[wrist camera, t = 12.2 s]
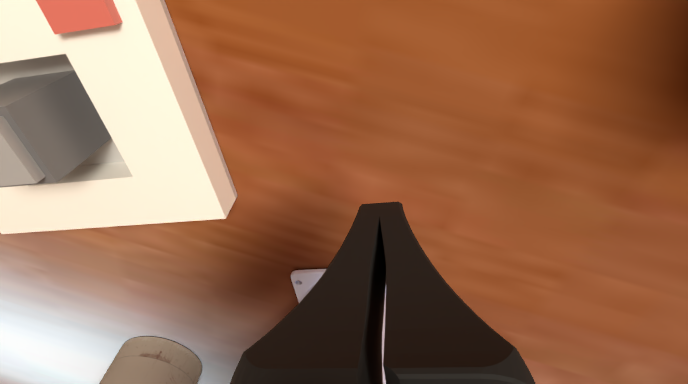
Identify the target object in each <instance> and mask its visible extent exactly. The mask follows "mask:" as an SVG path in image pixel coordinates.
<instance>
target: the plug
mask: <svg viewBox="0 0 688 384" xmlns="http://www.w3.org/2000/svg"><path fill="white" fill-rule="evenodd" d="M111 138H112V137H111V136H110V134H109V132H108V130H107V128H106V127H105V125H104V123H103V121H102V119H101V117H100V116H99V114H98V112H97V110H96V108H95V106H94V105H93V103H92V101H91V99H90V97H89V95H88V94H87V92H86V90H85V88H84V86H83V85H82V83H81V81H80V79H79V77H78V75H77V74H76V72H75V70H71V71H64V72H57V73H50V74H42V75H35V76H28V77H20V78H14V79H12V80H10V81H7V82H5V83H3V84H0V188H1V187H12V186H24V185H35V184H46V183H57V182H59V181H60V180H61V179H62V178H63V177H65V176H66V175H67V174H68V173H70V172H71V171H72V170H73V169H74V168H76V167H77V166H78V165H79V164H81V163H82V162H83V161H84V160H85V159H87V158H88V157H89V156H90V155H91V154H93V153H94V152H95V151H96V150H98V149H99V148H100V147H101V146H102V145H104V144H105V143H106V142H107V141H109V140H110V139H111Z"/></svg>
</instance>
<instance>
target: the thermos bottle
mask: <svg viewBox="0 0 688 384" xmlns="http://www.w3.org/2000/svg"><path fill="white" fill-rule="evenodd" d="M201 371H202V365H201V362H200V360H199V359H198V357H197V356H196V355H195V354H194V353H193V352H191V351H190V350H189V349H187V348H186V347H184V346H182V345H180V344H178V343H176V342H173V341H170V340H167V339H163V338H159V337H151V336H142V337H135V338H132V339H130V340H128V341H126V342H125V343H124V344H123V346H122V347H121V349H120V350H119V352H118V354H117V355H116V357H115V359H114V360H113V362H112V364H111V365H110V367H109V369H108V370H107V372H106V374H105V375H104V377H103V379H102V380H101V382H100V384H197V382H198V379H199V376H200V374H201Z"/></svg>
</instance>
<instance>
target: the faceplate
mask: <svg viewBox="0 0 688 384" xmlns="http://www.w3.org/2000/svg"><path fill="white" fill-rule="evenodd" d="M71 70H75V72H76V74H77V75H78V77H79V79H80V81H81V83H82V85H83V86H84V88H85V90H86V92H87V94H88V95H89V97H90V99H91V101H92V103H93V105H94V106H95V108H96V110H97V112H98V114H99V116H100V117H101V119H102V121H103V123H104V125H105V127H106V128H107V130H108V132H109V134H110V136H111V137H112V138H111V139H110V140H109V141H107V142H106V143H105V144H104V145H102V146H101V147H100V148H99V149H98V150H96V151H95V152H94V153H93V154H91V155H90V156H89V157H88V158H87V159H85V160H84V161H83V162H82V163H81V164H79V165H78V166H77V167H76V168H74V169H73V170H72V171H71V172H70V173H68V174H67V175H66V176H65V177H63V178H62V179H61V180H60V181H59V182H57V183H46V184H35V185H24V186H12V187H1V188H0V232H1V234H10V233H25V232H39V231H54V230H68V229H83V228H97V227H111V226H126V225H140V224H155V223H169V222H184V221H198V220H212V219H226V217H227V215H228V213H229V211H230V209H231V208H232V206H233V204H234V202H235V200H236V198H237V196H238V195H237V192H236V190H235V187H234V184H233V182H232V179H231V176H230V174H229V171H228V168H227V166H226V163H225V161H224V158H223V155H222V153H221V150H220V147H219V145H218V142H217V139H216V137H215V134H214V131H213V129H212V126H211V123H210V121H209V118H208V115H207V113H206V110H205V107H204V105H203V102H202V99H201V97H200V94H199V91H198V89H197V86H196V83H195V81H194V78H193V75H192V73H191V70H190V67H189V65H188V62H187V59H186V57H185V54H184V51H183V49H182V46H181V43H180V41H179V38H178V35H177V33H176V30H175V27H174V25H173V22H172V19H171V17H170V14H169V11H168V9H167V6H166V3H165V1H164V0H0V84H3V83H5V82H7V81H10V80H12V79H14V78H20V77H28V76H35V75H42V74H50V73H57V72H64V71H71Z"/></svg>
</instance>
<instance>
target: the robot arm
mask: <svg viewBox="0 0 688 384" xmlns="http://www.w3.org/2000/svg"><path fill="white" fill-rule="evenodd" d="M297 280H298V281H297ZM291 281H292V284H293V287H294V290H295V293H296V296H297V299H298V302H299V304H298V305H297V306H296V307H295V308H294V309H293V310H292V311H291V312H290V313H289V314H288V315H287V316H286V317H285V318H284V319H283V320H282V321H281V322H280V323H278V324H277V325H276V326H275V327H274V328H273V329H272V330H271V331H270V332H269V333H267V334H266V335H265V336H264V337H262V338H261V339H260V340H259V341H257V342H256V343H255V344H254V345H252V346H251V347H250V348H249V349H247V350H246V351H245V352H244V353H243V355H242V357H241V359H240V361H239V363H238V366H237V368H236V370H235V372H234V375H233V377H232V380H231V383H230V384H535V382H534V379H533V377H532V375H531V373H530V371H529V369H528V368H527V366H526V364H525V362H524V361H523V359H522V357H521V356H520V354H519V352H518V351H517V349H516V348H515V347H514V346H513V345H511V344H510V343H509V342H508V341H506V340H505V339H504V338H503V337H501V336H500V335H499V334H498V333H497V332H495V331H494V330H493V329H492V328H491V327H489V326H488V325H487V324H486V323H485V322H484V321H483V320H482V319H481V318H480V317H478V316H477V315H476V314H475V313H474V312H473V311H472V310H471V309H470V308H469V307H468V306H467V305H466V304H465V303H464V301H463V300H462V299H461V298H460V297H459V296H458V295H457V294H456V293H455V292H454V291H453V290H452V289H451V287H450V286H449V285H448V284H447V283H446V282H445V280H444V279H443V278H442V277H441V275H440V274H439V273H438V271H437V270H436V269H435V267H434V266H433V265H432V263H431V262H430V260H429V259H428V257H427V256H426V254H425V253H424V251H423V250H422V248H421V246H420V245H419V243H418V241H417V239H416V238H415V236H414V234H413V232H412V230H411V228H410V226H409V224H408V221H407V219H406V217H405V214H404V211H403V207H402V204H401V203H400V202H388V203H374V204H362V205H361V206H360V207H359V210H358V213H357V216H356V218H355V220H354V223H353V225H352V227H351V229H350V231H349V233H348V235H347V237H346V238H345V240H344V242H343V244H342V246H341V248H340V249H339V251H338V252H337V254H336V256H335V257H334V259H333V260H332V262H331V264H330V265H329V267H328V268H327V269H311V270H295V271H293V272H292V273H291Z"/></svg>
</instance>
